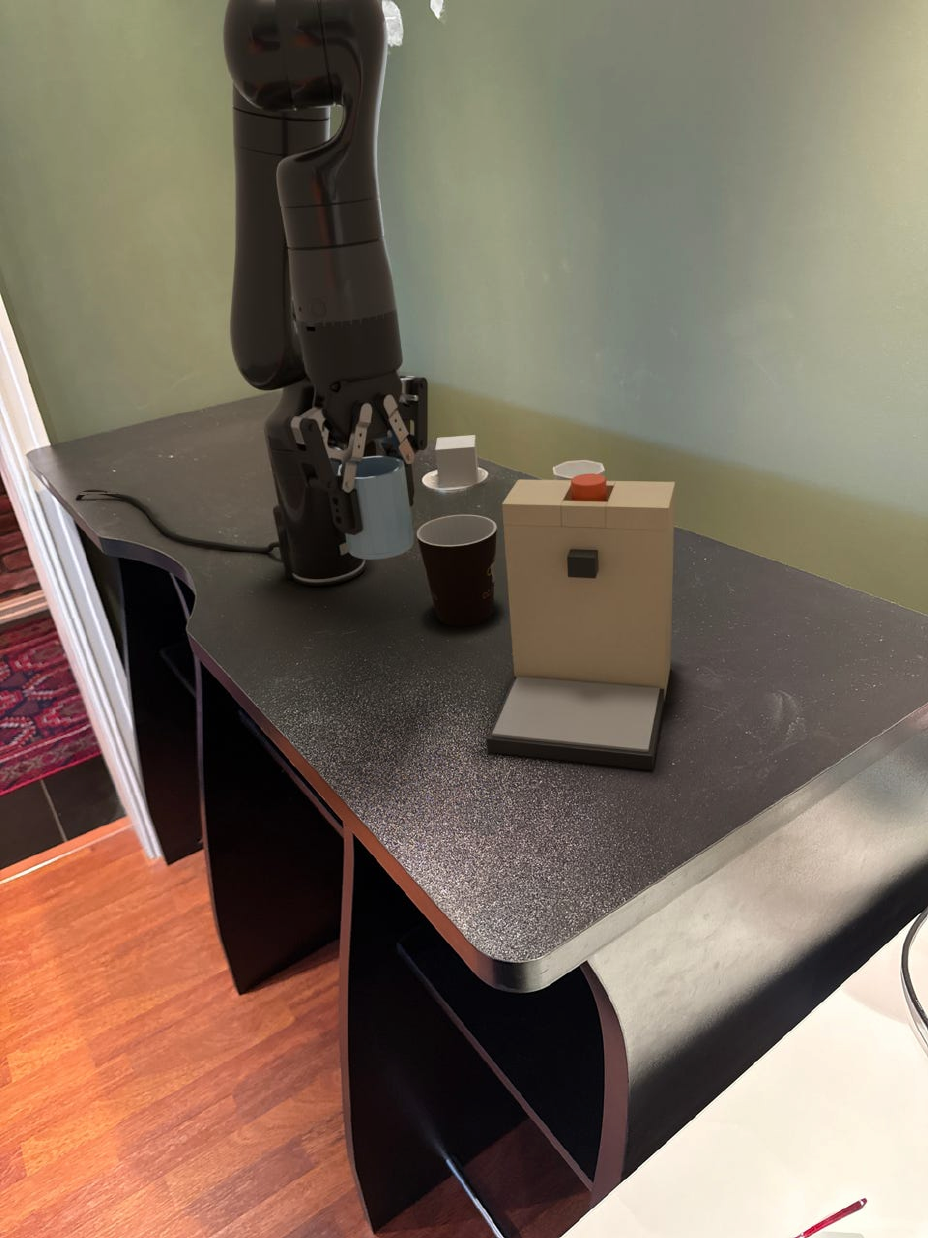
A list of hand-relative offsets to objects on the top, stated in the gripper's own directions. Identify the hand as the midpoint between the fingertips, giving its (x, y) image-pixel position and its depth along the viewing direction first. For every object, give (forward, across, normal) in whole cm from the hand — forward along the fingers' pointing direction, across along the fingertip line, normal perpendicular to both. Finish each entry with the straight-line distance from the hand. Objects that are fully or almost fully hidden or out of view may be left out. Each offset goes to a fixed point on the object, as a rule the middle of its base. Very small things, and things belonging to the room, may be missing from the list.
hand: (376, 518), depth 74 cm
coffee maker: (+20, -9, +14) cm, 26 cm away
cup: (+20, -44, -10) cm, 49 cm away
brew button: (+2, -14, +12) cm, 18 cm away
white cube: (+20, -53, -36) cm, 67 cm away
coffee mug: (+20, -20, -8) cm, 29 cm away
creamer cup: (+3, 0, 0) cm, 3 cm away
